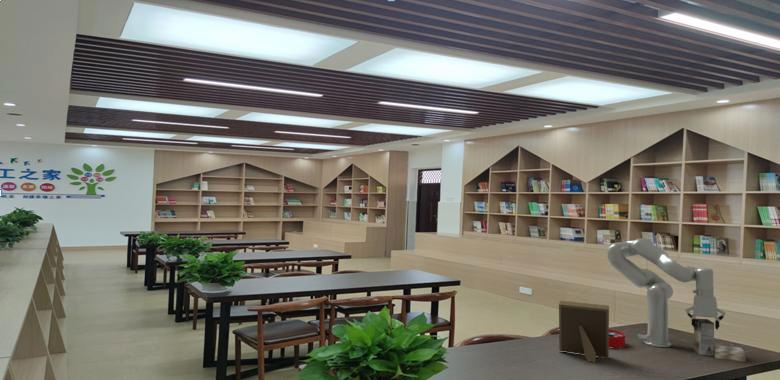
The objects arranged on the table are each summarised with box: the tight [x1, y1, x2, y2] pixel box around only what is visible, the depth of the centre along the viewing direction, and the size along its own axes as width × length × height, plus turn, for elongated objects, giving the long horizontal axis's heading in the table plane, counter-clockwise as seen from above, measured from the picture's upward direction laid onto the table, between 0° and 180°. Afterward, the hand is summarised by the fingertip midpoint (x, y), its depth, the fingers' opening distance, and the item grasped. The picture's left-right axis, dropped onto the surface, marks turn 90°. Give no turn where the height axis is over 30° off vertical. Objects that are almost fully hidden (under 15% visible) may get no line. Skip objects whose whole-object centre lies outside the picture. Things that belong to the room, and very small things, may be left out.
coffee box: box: [693, 318, 715, 357], centre depth 260 cm, size 9×6×16 cm
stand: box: [713, 344, 747, 363], centre depth 254 cm, size 12×11×4 cm
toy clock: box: [609, 328, 626, 349], centre depth 274 cm, size 20×6×20 cm
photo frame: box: [558, 300, 610, 363], centre depth 246 cm, size 15×22×25 cm
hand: (705, 328), depth 260 cm, fingers open, 9 cm apart
